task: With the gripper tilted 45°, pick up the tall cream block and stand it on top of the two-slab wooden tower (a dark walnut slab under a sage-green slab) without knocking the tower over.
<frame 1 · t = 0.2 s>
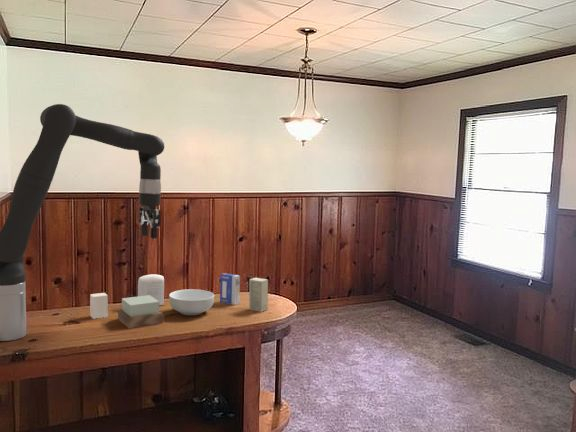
hand: (148, 236, 177), 29 cm above the table, tool pointing down, fingers open, 8 cm apart
walkman: (229, 303, 200), on the table
skincare box: (258, 310, 192), on the table
cream block: (98, 316, 176), on the table
cereal bowl: (191, 312, 185), on the table
photo printer: (150, 306, 192), on the table
tower base: (140, 322, 173), on the table, touching tower top
tower top: (140, 311, 172), point 3 cm above the table, touching tower base
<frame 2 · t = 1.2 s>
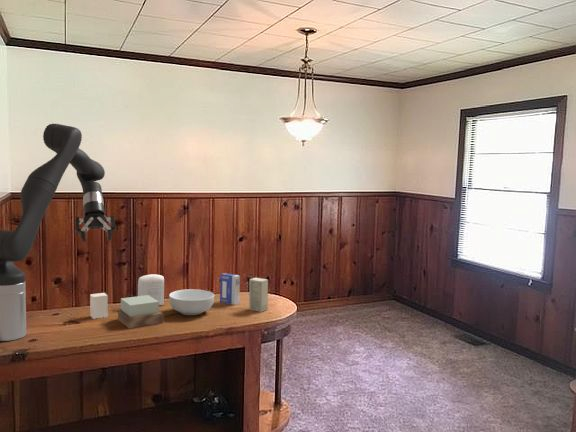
hand: (97, 240, 184), 26 cm above the table, tool tilted 40°, fingers open, 8 cm apart
nothing on the table moved.
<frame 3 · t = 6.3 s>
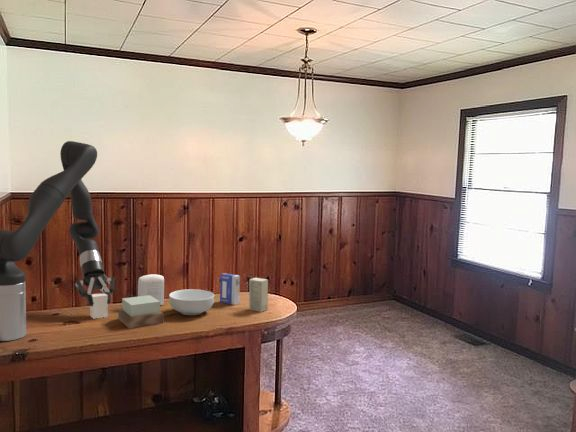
hand: (100, 304, 174), 5 cm above the table, tool tilted 45°, fingers closed on cream block, 5 cm apart
cream block: (98, 316, 176), on the table, touching gripper
tower base: (140, 322, 173), on the table
tower top: (140, 311, 172), point 3 cm above the table
everything else where it was.
when the fingers open (14 cm above the table, at t = 11.7 s): cream block drops 2 cm, resting on tower top.
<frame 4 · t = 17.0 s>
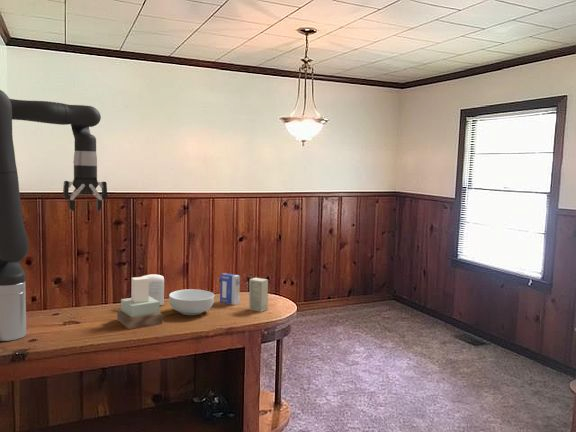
hand: (85, 210, 172), 38 cm above the table, tool pointing down, fingers open, 8 cm apart
cream block: (140, 300, 171), point 7 cm above the table, touching tower top
tower base: (139, 322, 172), on the table, touching tower top
tower top: (140, 311, 172), point 3 cm above the table, touching cream block, tower base
everything else where it was.
at the end: cream block 0.2 cm off-centre on the tower top, point 4.0 cm above the tower top's base; cream block tilted 0°; tower top 0.1 cm off-centre on the tower base, point 4.0 cm above the tower base's base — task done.
